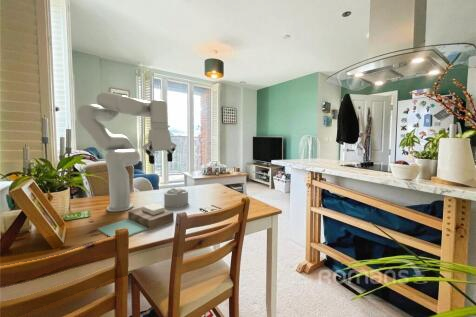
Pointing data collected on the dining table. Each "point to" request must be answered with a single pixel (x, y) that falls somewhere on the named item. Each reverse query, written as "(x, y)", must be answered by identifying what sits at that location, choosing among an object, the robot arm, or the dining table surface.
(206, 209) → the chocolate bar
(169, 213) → the block
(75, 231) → the dining table surface
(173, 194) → the lumpy-topped squat cylinder
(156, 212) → the tile
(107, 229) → the mat
